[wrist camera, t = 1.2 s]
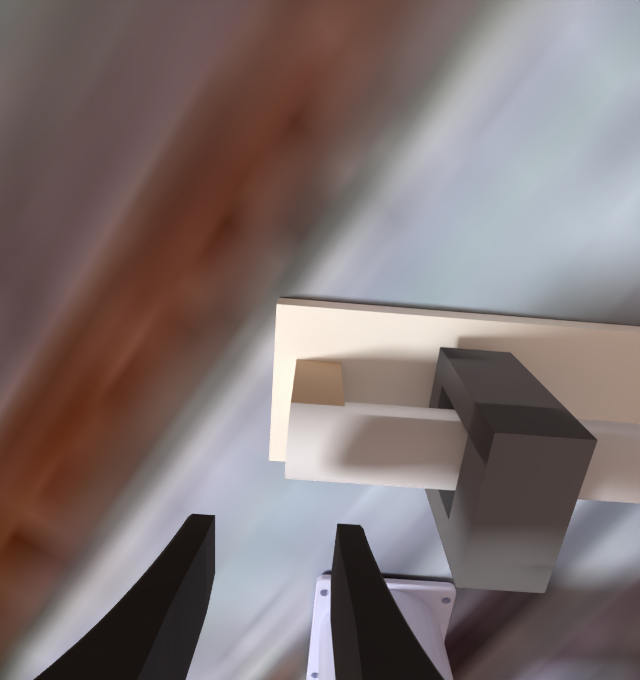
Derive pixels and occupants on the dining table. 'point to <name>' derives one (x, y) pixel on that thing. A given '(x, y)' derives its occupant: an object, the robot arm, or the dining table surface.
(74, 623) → the dining table surface
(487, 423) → the collar
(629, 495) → the pipe stand
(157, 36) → the dining table surface
